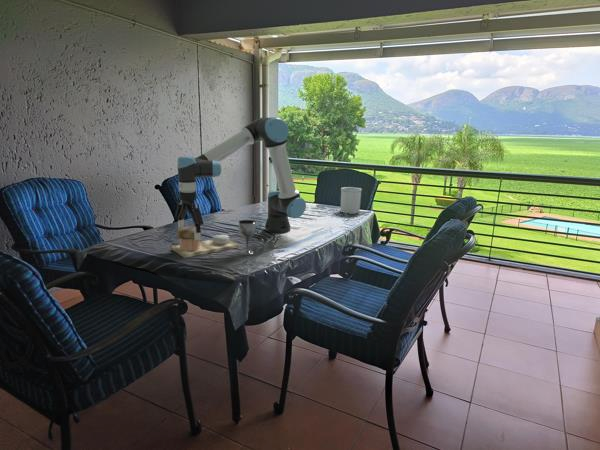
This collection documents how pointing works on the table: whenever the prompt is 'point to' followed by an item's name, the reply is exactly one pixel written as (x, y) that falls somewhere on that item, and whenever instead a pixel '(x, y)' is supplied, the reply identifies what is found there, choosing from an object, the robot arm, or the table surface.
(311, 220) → the table surface
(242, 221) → the wine glass
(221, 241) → the light grey domed disc
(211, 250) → the serving board
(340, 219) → the table surface
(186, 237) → the lid
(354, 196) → the utensil holder
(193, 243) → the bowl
